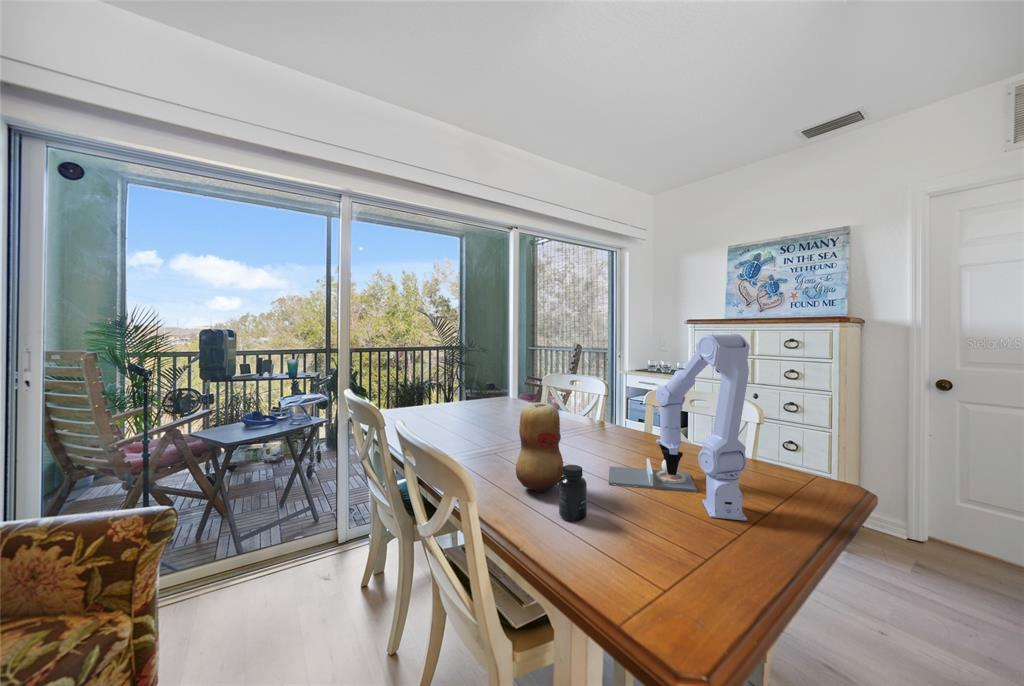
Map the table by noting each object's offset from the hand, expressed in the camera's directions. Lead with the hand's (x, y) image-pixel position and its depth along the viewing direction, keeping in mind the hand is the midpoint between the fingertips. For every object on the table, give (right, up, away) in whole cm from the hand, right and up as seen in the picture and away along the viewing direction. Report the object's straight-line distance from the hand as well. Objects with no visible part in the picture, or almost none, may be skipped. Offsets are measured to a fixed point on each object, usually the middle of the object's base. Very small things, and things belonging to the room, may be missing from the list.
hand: (670, 471), depth 115 cm
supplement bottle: (-33, -4, -21) cm, 39 cm away
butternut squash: (-40, -4, -4) cm, 40 cm away
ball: (0, +1, 0) cm, 2 cm away
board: (-6, -3, +2) cm, 7 cm away
